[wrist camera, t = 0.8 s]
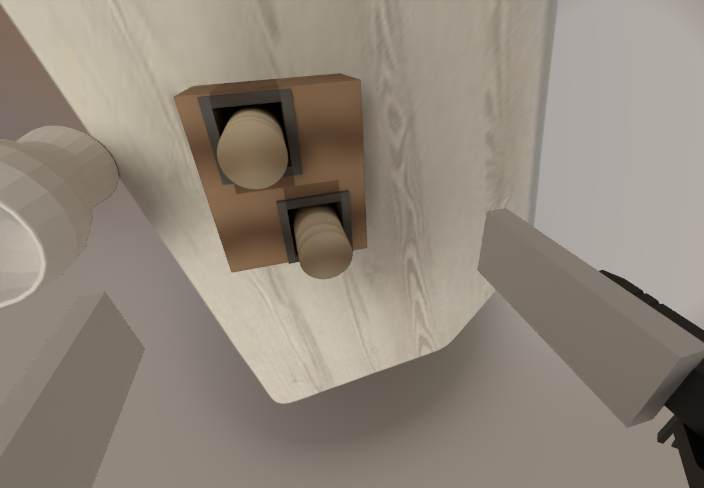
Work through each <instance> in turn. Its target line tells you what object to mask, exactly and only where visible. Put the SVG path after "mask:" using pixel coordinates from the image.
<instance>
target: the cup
mask: <svg viewBox="0 0 704 488" xmlns="http://www.w3.org/2000/svg"><path fill="white" fill-rule="evenodd" d="M118 180H119V178H118V169H117V167H116V164H115V161H114V159H113V158H112V157H111V155H110V154H109V152H108V151H107V150H106V149H105V148H104V147H103V146H102V145H101V144H100V143H99V142H98V141H96V140H95V139H93V138H92V137H90V136H88V135H87V134H85V133H83V132H80V131H78V130H75V129H73V128H68V127H63V126H43V127H40V128H37V129H34V130H32V131H30V132H29V133H27V134H26V135H24V136H23V137H22V138H20V139H19V140H17V141H16V142H14V141H9V140H3V139H0V307H4V306H7V305H9V304H13V303H16V302H19V301H21V300H23V299H24V298H26V297H28V296H30V295H31V294H33V293H35V292H36V291H38V290H40V289H41V288H43V287H45V286H46V285H48V284H50V283H51V282H52V281H54V280H55V279H57V278H58V277H60V276H61V275H63V274H64V273H65V272H66V271H67V270H68V268H69V267H70V266H71V265H72V264H73V263H74V261H75V260H76V259H77V258H78V256H79V255H80V254H81V253H82V251H83V250H84V249H85V247H86V244H87V240H88V236H89V232H90V226H91V223H92V210H91V207H93V206H95V205H97V204H99V203H101V202H102V201H104V200H105V199H107V198H108V197H110V196H111V195H112V193H113V192H114V191H115V189H116V187H117V184H118Z"/></svg>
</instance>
